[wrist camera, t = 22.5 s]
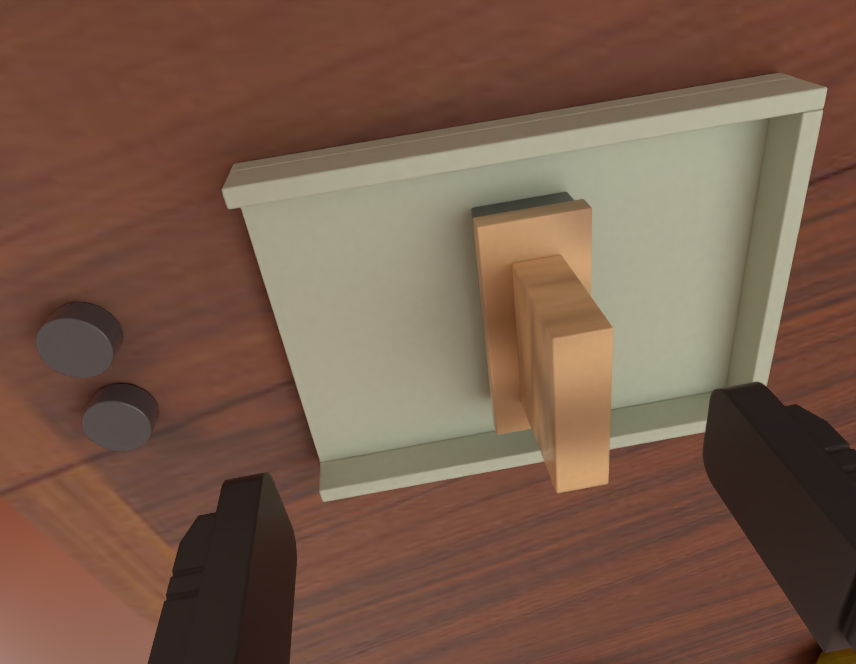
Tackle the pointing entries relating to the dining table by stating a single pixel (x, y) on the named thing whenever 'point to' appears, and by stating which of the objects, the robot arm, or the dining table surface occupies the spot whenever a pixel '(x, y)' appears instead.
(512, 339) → the wooden board eraser
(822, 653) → the fruit
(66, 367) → the pebble
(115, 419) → the pebble
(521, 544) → the dining table surface
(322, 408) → the tray
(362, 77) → the dining table surface
